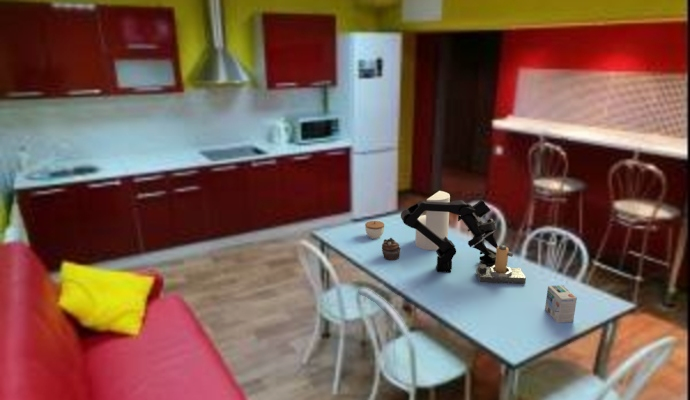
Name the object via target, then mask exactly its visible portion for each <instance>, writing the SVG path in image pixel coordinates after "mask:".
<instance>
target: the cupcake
mask: <svg viewBox="0 0 690 400" xmlns="http://www.w3.org/2000/svg"><path fill="white" fill-rule="evenodd" d="M401 250H402V249H401V247H400V244H399V243H398V242H396V240H395V239H393V237H390V238H389V239H388V238H387V239H384V240H383V242H382V244H381V251H382V255H383V259H384V260H387V261H396V260H399V259H400V254H401Z"/></svg>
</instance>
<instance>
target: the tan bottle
mask: <svg viewBox="0 0 690 400" xmlns="http://www.w3.org/2000/svg"><path fill="white" fill-rule="evenodd" d="M495 252H496V261H495V271H496V272H498V273H506V272H507V267H508V259H509V257H511V258H512V257H513V255H514V253H513V252H510V251H509V247H507V246H506V245H504V244H500V245H499V246H498V247H497V249H496V250H495Z"/></svg>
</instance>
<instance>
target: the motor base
mask: <svg viewBox="0 0 690 400" xmlns="http://www.w3.org/2000/svg"><path fill="white" fill-rule="evenodd" d="M477 265H478V266H476V269H475V270H476V272H475V273H476V276H477V279H478V280H479V283H480V284H515V285H518V284H519V285H520V284H521V285H525V284H526V278H527V277H526V275H525V274H524V273H523V270H522V269H521V267H508V266H507V272H506V273H498V272H496V271H495V265H494V266H492V267H487V266H485V264H482V263H478V264H477Z"/></svg>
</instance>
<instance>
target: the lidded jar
mask: <svg viewBox="0 0 690 400" xmlns="http://www.w3.org/2000/svg"><path fill="white" fill-rule="evenodd" d="M364 227H365V232H366V234H367V236H368V237H369V238H370V239H374V240H375V239H376V240H377V239H380V238H381V237H382V235H383V234H384V231H385V223H384V222H383V221H379V220H371V221H370V220H369V221H367V222H366V223H365V225H364Z"/></svg>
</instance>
